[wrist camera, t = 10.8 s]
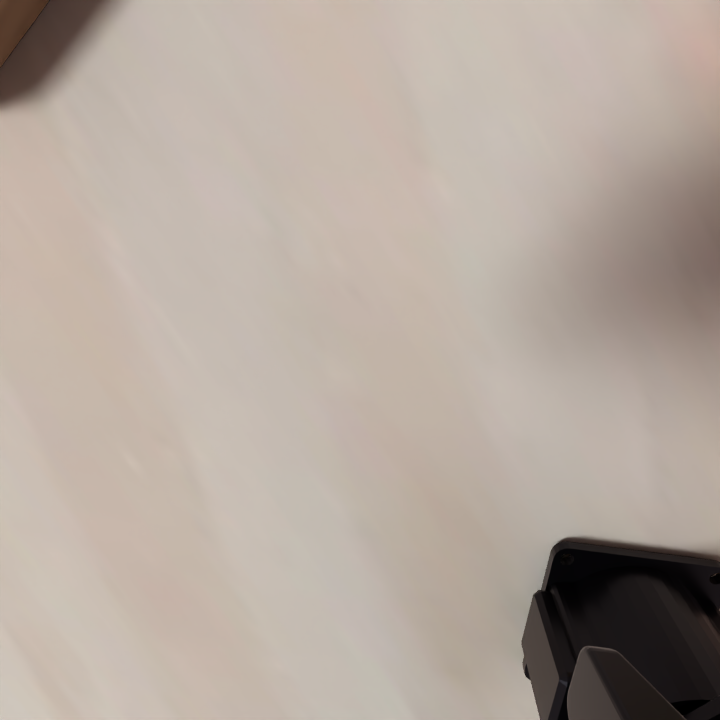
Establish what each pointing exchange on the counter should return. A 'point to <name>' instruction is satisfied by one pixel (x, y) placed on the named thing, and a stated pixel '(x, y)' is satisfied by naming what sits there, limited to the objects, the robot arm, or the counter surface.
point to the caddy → (16, 22)
